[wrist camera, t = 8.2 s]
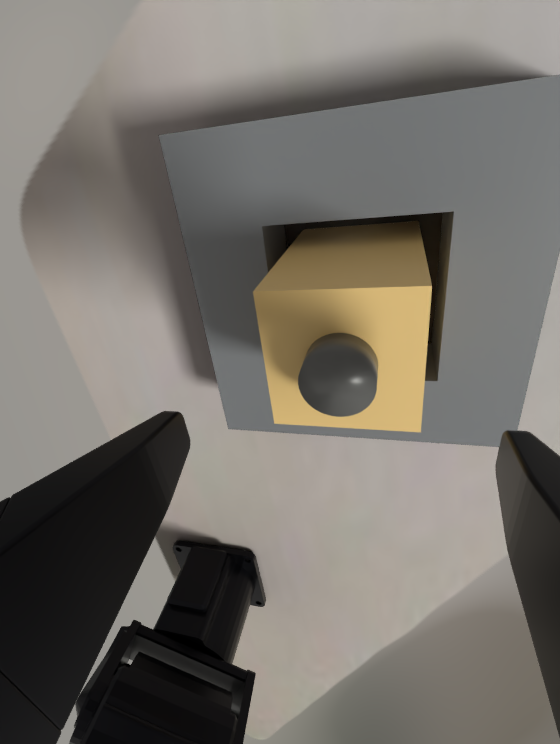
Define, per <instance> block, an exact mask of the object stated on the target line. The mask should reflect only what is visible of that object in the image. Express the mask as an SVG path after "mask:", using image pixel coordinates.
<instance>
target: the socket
mask: <svg viewBox="0 0 560 744" xmlns="http://www.w3.org/2000/svg"><path fill="white" fill-rule="evenodd" d="M159 139H160V143H161V147H162V152H163V156H164V160H165V164H166V169H167V173H168V177H169V181H170V185H171V190H172V194H173V198H174V202H175V206H176V211H177V215H178V219H179V223H180V228H181V232H182V236H183V240H184V244H185V249H186V253H187V257H188V261H189V265H190V270H191V274H192V278H193V282H194V287H195V291H196V295H197V299H198V303H199V308H200V312H201V316H202V320H203V324H204V329H205V333H206V337H207V341H208V346H209V350H210V354H211V358H212V362H213V367H214V371H215V375H216V379H217V383H218V388H219V392H220V396H221V400H222V404H223V409H224V413H225V417H226V421H227V426H228V429H236V430H251V431H266V432H281V433H296V434H311V435H326V436H341V437H356V438H371V439H386V440H401V441H416V442H431V443H446V444H461V445H476V446H491V447H499V446H500V441H501V437H502V434H503V432H505V431H506V430H514V431H517V429H518V425H519V421H520V417H521V412H522V408H523V404H524V400H525V395H526V391H527V387H528V383H529V378H530V374H531V370H532V366H533V362H534V357H535V353H536V349H537V345H538V340H539V336H540V332H541V328H542V324H543V319H544V315H545V311H546V307H547V302H548V298H549V294H550V290H551V285H552V281H553V277H554V273H555V269H556V264H557V260H558V256H559V252H560V75H554V76H547V77H541V78H534V79H527V80H521V81H514V82H507V83H501V84H494V85H488V86H481V87H474V88H468V89H461V90H454V91H448V92H441V93H435V94H428V95H421V96H415V97H408V98H401V99H395V100H388V101H382V102H375V103H368V104H362V105H355V106H348V107H342V108H335V109H329V110H322V111H315V112H309V113H302V114H295V115H289V116H282V117H275V118H269V119H262V120H256V121H249V122H242V123H236V124H229V125H222V126H216V127H209V128H203V129H196V130H189V131H183V132H176V133H169V134H163V135H159ZM440 212H443V215H442V227H441V239H440V251H439V263H438V275H437V287H436V299H435V310H434V322H433V334H432V344H428V345H427V358H426V371H425V384H424V397H423V410H422V423H421V432H405V431H388V430H372V429H355V428H338V427H322V426H305V425H288V424H274V418H273V412H272V406H271V400H270V394H269V388H268V381H267V375H266V369H265V363H264V357H263V351H262V345H261V338H260V332H259V326H258V320H257V314H256V308H255V302H254V296H253V291H254V290H255V288H256V287H257V286H258V285H259V283H260V282H261V281H262V280H263V279H264V277H265V276H266V275H267V274H268V272H269V271H270V270H271V269H272V268H273V266H274V265H275V264H276V263H277V261H278V260H279V259H280V258H281V256H282V255H283V254H284V253H285V252H286V250H287V246H286V237H285V228H284V224H296V223H309V222H323V221H336V220H349V219H362V218H375V217H388V216H401V215H414V214H427V213H440Z"/></svg>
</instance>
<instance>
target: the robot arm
mask: <svg viewBox="0 0 560 744" xmlns="http://www.w3.org/2000/svg"><path fill="white" fill-rule="evenodd" d="M189 449H190V437H189V434H188V431H187V427H186V424H185V421H184V418H183V415H182V414H181V413H180V412H175V411H163V412H161V413H159V414H157V415H155V416H154V417H152V418H150V419H148V420H146V421H145V422H143V423H141V424H139V425H137V426H136V427H134V428H132V429H130V430H128V431H127V432H125V433H123V434H121V435H119V436H118V437H116V438H114V439H112V440H110V441H109V442H107V443H105V444H103V445H101V446H100V447H98V448H96V449H94V450H93V451H91V452H89V453H87V454H85V455H84V456H82V457H80V458H78V459H76V460H75V461H73V462H71V463H69V464H67V465H66V466H64V467H62V468H60V469H59V470H57V471H55V472H53V473H51V474H50V475H48V476H46V477H44V478H42V479H40V480H39V481H37V482H35V483H33V484H31V485H30V486H28V487H26V488H24V489H22V490H21V491H19V492H17V493H15V494H13V495H12V497H11V498H10V497H9V498H6V499H4V500H2V501H1V502H0V744H56V743H57V741H58V739H59V737H60V735H61V730H62V729H63V728H64V725H65V723H66V721H67V719H68V717H69V715H70V713H71V711H72V709H73V707H74V705H76V711H77V720H76V722H75V725H74V728H75V730H74V732H73V735H72V737H71V740H70V743H69V744H243V740H244V734H245V729H246V723H247V718H248V713H249V707H250V702H251V696H252V691H253V685H254V680H255V674H256V673H255V672H252V671H250V670H247V671H246V670H244V669H241V668H239V667H237V666H235V665H232V663H233V660H234V656H235V653H236V650H237V646H238V643H239V640H240V636H241V633H242V630H243V626H244V623H245V620H246V616H247V613H248V609H249V606H250V605H253V606H259V607H263V606H265V602H266V597H265V593H264V589H263V585H262V581H261V577H260V572H259V568H258V564H257V560H256V556H255V555H254V554H253V553H252V552H249V551H244V550H237V549H231V548H224V547H217V546H211V545H204V544H198V543H191V542H184V541H176V542H175V543H174V545H173V550H174V553H175V555H176V558H177V560H178V563H179V565H180V568H181V571H180V573H179V575H178V577H177V579H176V581H175V584H174V586H173V588H172V590H171V592H170V594H169V596H168V599H167V602H166V604H165V606H164V608H163V610H162V612H161V614H160V617H159V619H158V621H157V623H156V625H155V627H154V629H150V628H148V627H146V626H143V625H141V622H138V621H136V620H133V622H132V624H131V625H130V626H129V627H125V626H123V627H121V628H120V630H119V632H118V634H117V636H116V638H115V639H114V641H113V643H112V645H111V647H110V649H109V650H108V652H107V654H106V656H105V657H104V659H103V660H102V662H101V663H100V665H99V666H98V668H97V669H96V671H95V672H94V674H93V676H92V677H91V678H90V680H89V682H88V683H87V684H86V686H85V688H84V689H83V691H82V692H81V690H82V688H83V686H84V684H85V682H86V680H87V677H88V675H89V673H90V671H91V669H92V667H93V665H94V663H95V661H96V659H97V656H98V654H99V652H100V650H101V648H102V646H103V644H104V642H105V640H106V638H107V636H108V633H109V631H110V629H111V627H112V625H113V623H114V621H115V619H116V617H117V614H118V613H119V610H120V608H121V606H122V604H123V602H124V600H125V598H126V595H127V593H128V591H129V590H130V587H131V585H132V583H133V581H134V579H135V577H136V575H137V573H138V571H139V569H140V566H141V564H142V562H143V560H144V558H145V556H146V554H147V552H148V550H149V548H150V546H151V544H152V541H153V539H154V537H155V535H156V533H157V531H158V529H159V527H160V525H161V523H162V520H163V518H164V516H165V514H166V512H167V510H168V507H169V505H170V502H171V500H172V497H173V494H174V492H175V489H176V486H177V483H178V480H179V477H180V475H181V472H182V469H183V466H184V463H185V461H186V458H187V455H188V452H189ZM496 478H497V485H498V492H499V498H500V505H501V512H502V518H503V525H504V532H505V538H506V544H507V550H508V554H509V558H510V562H511V565H512V569H513V573H514V576H515V580H516V583H517V587H518V590H519V594H520V598H521V601H522V605H523V608H524V612H525V616H526V619H527V623H528V626H529V630H530V633H531V637H532V641H533V644H534V648H535V651H536V655H537V658H538V662H539V666H540V669H541V672H542V676H543V680H544V683H545V687H546V690H547V694H548V698H549V701H550V705H551V708H552V712H553V716H554V719H555V722H556V726H557V730H558V733H559V737H560V456H559V455H558V454H557V453H555V452H554V451H553V450H552V449H550V448H549V447H548V446H547V445H545V444H544V443H543V442H542V441H540V440H539V439H538V438H537V437H535V436H534V435H533V434H532V433H530V432H527V431H514V430H506V431H505V432H503V434H502V437H501V441H500V446H499V451H498V456H497V460H496ZM129 659H131V660H133V662H132V664H131V665H129V664H127V662H128V661H129ZM80 692H81V694H80ZM79 694H80V695H79ZM78 696H79V697H78ZM77 698H78V699H77ZM76 700H77V701H76ZM75 703H76V704H75Z"/></svg>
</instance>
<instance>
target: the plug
mask: <svg viewBox="0 0 560 744" xmlns="http://www.w3.org/2000/svg"><path fill="white" fill-rule="evenodd" d="M431 293H432V283H431V278H430V274H429V269H428V264H427V259H426V254H425V250H424V245H423V240H422V235H421V230H420V226H419V221H410V222H396V223H383V224H369V225H356V226H342V227H328V228H315V229H304V230H303V231H302V232H301V233H300V234H299V236H298V237H297V238H296V239H295V241H294V242H293V243H292V244H291V245H290V247H289V248H288V249H287V250H286V252H285V253H284V254H283V255H282V256H281V258H280V259H279V260H278V261H277V263H276V264H275V265H274V266H273V268H272V269H271V270H270V271H269V272H268V274H267V275H266V276H265V277H264V279H263V280H262V281H261V282H260V283H259V285H258V286H257V287H256V288H255V290H254V291H253V296H254V302H255V308H256V314H257V320H258V326H259V332H260V338H261V345H262V351H263V357H264V363H265V369H266V375H267V381H268V388H269V394H270V400H271V406H272V412H273V418H274V424H288V425H305V426H322V427H338V428H355V429H372V430H388V431H405V432H421V423H422V410H423V397H424V384H425V371H426V358H427V345H428V332H429V319H430V306H431Z"/></svg>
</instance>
